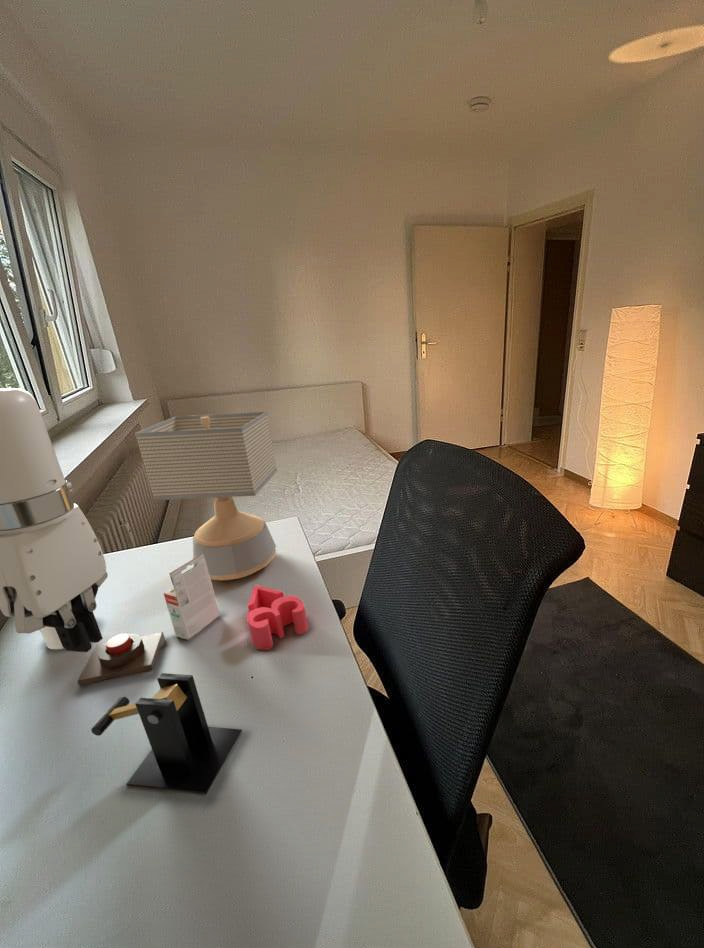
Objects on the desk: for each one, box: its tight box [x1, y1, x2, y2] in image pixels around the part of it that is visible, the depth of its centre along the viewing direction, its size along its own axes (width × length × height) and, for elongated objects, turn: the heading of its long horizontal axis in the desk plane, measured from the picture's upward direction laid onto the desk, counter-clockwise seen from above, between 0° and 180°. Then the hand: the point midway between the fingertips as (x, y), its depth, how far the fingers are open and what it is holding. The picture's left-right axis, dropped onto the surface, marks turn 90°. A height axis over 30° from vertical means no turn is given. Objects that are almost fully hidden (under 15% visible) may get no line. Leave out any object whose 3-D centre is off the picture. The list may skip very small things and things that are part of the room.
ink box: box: [163, 554, 221, 641], centre depth 84 cm, size 4×8×15 cm, turn 156°
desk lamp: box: [134, 411, 278, 581], centre depth 101 cm, size 22×19×37 cm
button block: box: [76, 631, 166, 688], centre depth 77 cm, size 11×9×4 cm
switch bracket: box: [126, 672, 243, 795], centre depth 57 cm, size 11×9×13 cm
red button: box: [105, 632, 132, 655], centre depth 76 cm, size 4×4×2 cm
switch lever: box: [90, 684, 187, 737], centre depth 57 cm, size 12×5×2 cm, turn 82°
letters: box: [246, 584, 309, 651], centre depth 86 cm, size 14×10×5 cm
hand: (84, 644), depth 54 cm, fingers closed
